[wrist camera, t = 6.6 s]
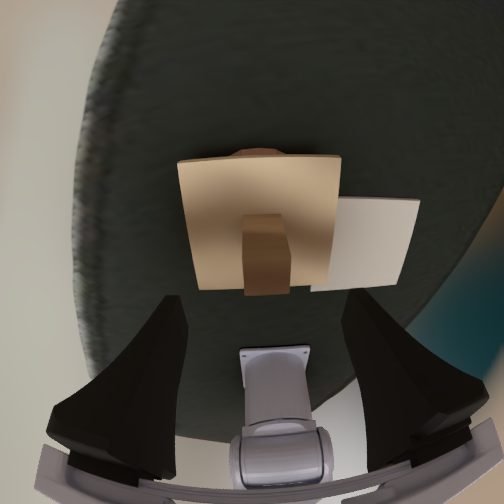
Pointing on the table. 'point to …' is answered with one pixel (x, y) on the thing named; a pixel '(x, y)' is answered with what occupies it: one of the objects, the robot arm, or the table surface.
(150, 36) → the table surface
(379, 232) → the mat
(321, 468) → the robot arm
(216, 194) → the board
